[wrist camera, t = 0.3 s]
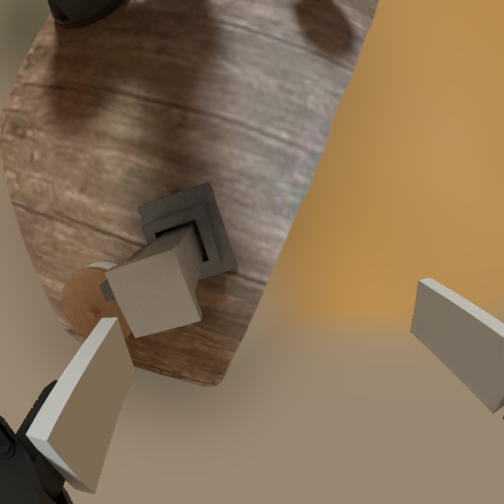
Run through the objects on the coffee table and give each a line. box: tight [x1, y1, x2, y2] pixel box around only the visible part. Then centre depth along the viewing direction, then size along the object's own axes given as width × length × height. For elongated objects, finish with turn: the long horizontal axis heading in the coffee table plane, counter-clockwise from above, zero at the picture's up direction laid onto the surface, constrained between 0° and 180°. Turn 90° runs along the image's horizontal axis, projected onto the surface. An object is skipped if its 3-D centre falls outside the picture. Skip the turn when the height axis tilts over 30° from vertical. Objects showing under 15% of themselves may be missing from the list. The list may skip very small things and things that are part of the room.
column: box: [105, 220, 206, 338], centre depth 27 cm, size 5×5×19 cm
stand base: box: [99, 182, 237, 302], centre depth 30 cm, size 12×11×16 cm
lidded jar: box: [62, 261, 132, 339], centre depth 34 cm, size 11×11×9 cm
